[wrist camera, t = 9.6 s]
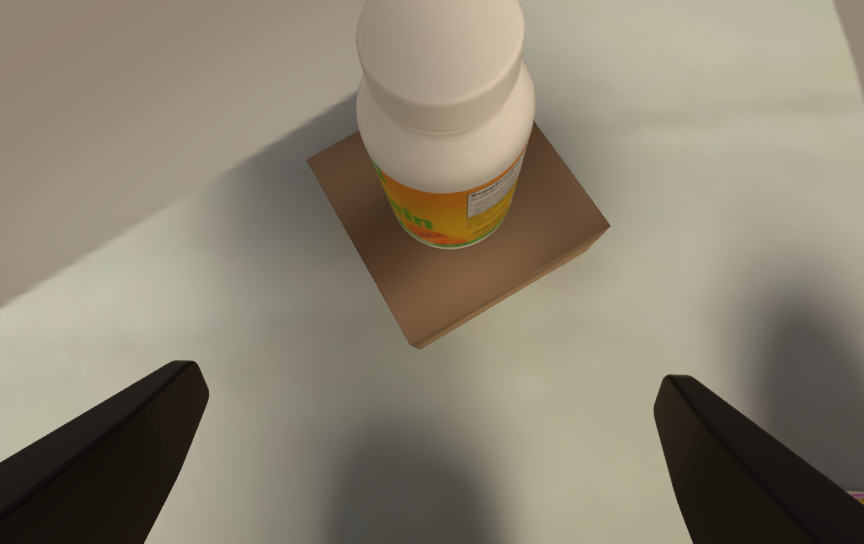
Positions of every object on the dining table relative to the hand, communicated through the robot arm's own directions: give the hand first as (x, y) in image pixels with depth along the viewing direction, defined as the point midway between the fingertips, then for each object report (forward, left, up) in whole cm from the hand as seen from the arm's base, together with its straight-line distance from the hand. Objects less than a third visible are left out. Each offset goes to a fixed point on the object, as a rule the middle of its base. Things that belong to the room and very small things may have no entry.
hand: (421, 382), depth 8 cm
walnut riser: (+8, -2, -14) cm, 16 cm away
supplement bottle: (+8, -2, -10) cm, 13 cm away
